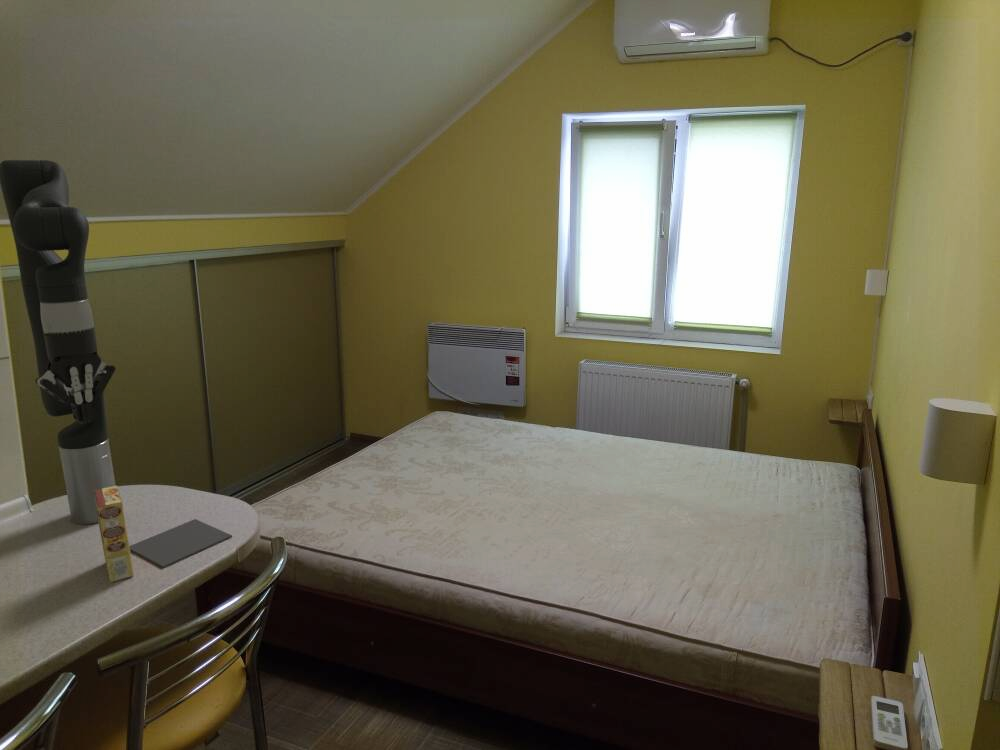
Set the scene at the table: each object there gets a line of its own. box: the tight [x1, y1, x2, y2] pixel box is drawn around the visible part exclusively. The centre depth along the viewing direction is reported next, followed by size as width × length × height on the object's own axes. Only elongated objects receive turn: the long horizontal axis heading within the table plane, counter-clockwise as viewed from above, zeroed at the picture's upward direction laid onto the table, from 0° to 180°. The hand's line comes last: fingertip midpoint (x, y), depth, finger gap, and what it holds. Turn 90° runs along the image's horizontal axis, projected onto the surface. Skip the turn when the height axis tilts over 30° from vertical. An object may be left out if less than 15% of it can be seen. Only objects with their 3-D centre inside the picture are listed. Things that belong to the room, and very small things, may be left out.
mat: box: [129, 518, 233, 569], centre depth 143 cm, size 13×15×1 cm
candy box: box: [94, 485, 135, 583], centre depth 131 cm, size 9×4×15 cm, turn 34°
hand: (84, 422), depth 124 cm, fingers closed
